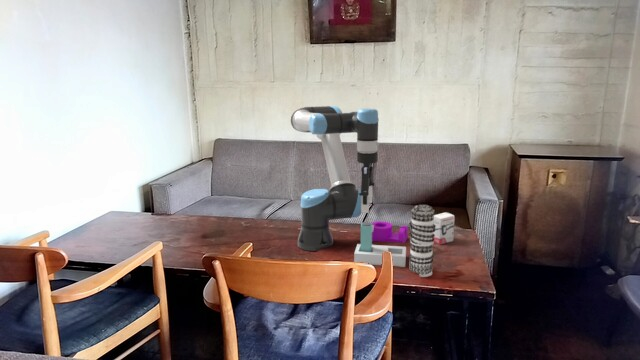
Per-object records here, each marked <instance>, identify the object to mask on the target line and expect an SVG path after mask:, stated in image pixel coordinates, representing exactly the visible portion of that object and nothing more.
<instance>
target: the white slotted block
mask: <svg viewBox="0 0 640 360" xmlns="http://www.w3.org/2000/svg"><path fill="white" fill-rule="evenodd" d="M360 250H361V243H357V244H356V247H355V250H354V254H353V255H354V256H353V258H354V259H353V262H363V263H369V264H368V265H370V264H372V266H382V265H381V264H382V253H383V252H385V251H389V252H391V254H392V259H393V266H392V267H399V268H400V267H401V268H405V267H406V261H407V260H406V259H407V258H406V257H407V246H400V245H398V246H397V245H382V244H381V245H379V244H378V245H377V244H372V252H361V251H360Z"/></svg>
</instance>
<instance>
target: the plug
mask: <svg viewBox="0 0 640 360" xmlns="http://www.w3.org/2000/svg"><path fill="white" fill-rule="evenodd" d="M373 230H374V225H372V222H365V221H363V222H361V224H360V244H361V250H360V251H361V252H372V245H373V241H372V232H373Z"/></svg>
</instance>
